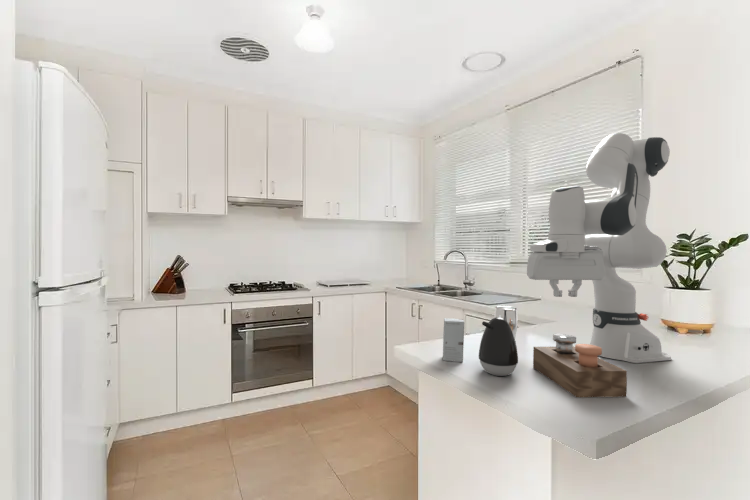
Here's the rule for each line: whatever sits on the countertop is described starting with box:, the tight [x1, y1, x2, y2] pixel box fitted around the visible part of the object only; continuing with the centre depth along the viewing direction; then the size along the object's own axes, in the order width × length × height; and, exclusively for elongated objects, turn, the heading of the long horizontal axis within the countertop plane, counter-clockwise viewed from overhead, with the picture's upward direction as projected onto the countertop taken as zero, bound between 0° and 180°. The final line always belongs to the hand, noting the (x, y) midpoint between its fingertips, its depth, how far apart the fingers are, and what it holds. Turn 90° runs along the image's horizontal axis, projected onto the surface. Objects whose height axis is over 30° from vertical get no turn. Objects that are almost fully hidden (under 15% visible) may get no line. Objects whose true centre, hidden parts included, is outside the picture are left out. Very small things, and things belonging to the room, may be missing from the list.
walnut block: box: [532, 345, 628, 398], centre depth 93 cm, size 12×20×6 cm, turn 3°
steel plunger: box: [552, 333, 577, 354], centre depth 98 cm, size 6×6×5 cm
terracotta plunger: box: [574, 343, 602, 367], centre depth 88 cm, size 6×6×5 cm
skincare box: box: [442, 317, 465, 363], centre depth 109 cm, size 6×4×12 cm
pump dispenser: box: [478, 317, 519, 377], centre depth 98 cm, size 10×10×15 cm
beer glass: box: [493, 305, 519, 339], centre depth 114 cm, size 7×7×15 cm
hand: (565, 296), depth 98 cm, fingers open, 3 cm apart
